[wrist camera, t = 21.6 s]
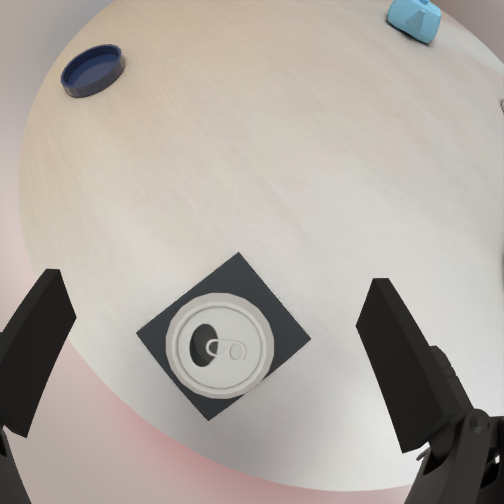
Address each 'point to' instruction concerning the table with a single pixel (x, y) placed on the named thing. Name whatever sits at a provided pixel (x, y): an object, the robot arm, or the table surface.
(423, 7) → the teapot
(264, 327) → the can
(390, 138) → the table surface
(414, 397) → the robot arm
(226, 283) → the mat
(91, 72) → the dish
